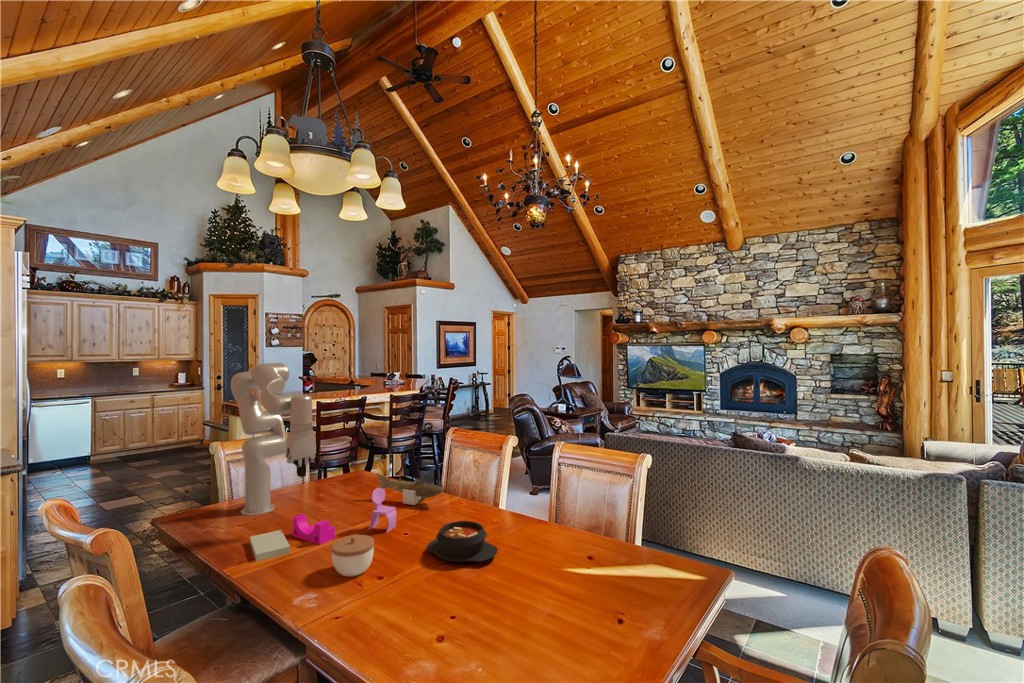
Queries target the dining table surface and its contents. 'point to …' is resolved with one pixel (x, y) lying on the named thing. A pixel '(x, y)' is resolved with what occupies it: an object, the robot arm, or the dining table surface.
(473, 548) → the casserole
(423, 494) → the wood carving
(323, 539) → the toy block
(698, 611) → the dining table surface
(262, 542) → the base slab
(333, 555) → the lidded bowl
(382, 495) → the toy chair
